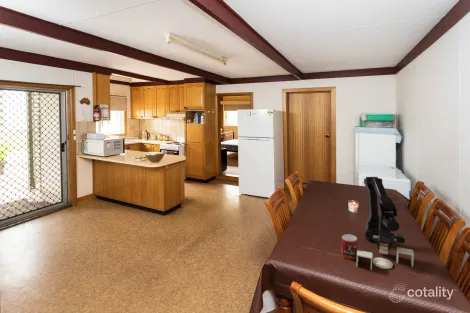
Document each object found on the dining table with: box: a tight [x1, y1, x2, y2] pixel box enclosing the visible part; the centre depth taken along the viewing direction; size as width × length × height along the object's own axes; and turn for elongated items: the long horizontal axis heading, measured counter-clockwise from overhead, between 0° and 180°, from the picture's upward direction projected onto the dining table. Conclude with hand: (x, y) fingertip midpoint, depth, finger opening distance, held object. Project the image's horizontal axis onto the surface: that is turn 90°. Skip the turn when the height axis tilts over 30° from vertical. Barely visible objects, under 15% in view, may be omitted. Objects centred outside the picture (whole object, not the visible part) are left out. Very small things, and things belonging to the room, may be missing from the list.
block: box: [378, 242, 389, 255], centre depth 146 cm, size 4×4×4 cm
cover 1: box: [355, 249, 373, 271], centre depth 136 cm, size 6×7×6 cm
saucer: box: [372, 257, 394, 270], centre depth 137 cm, size 9×9×1 cm
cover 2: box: [395, 246, 415, 268], centre depth 138 cm, size 6×7×6 cm
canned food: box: [340, 233, 358, 260], centre depth 145 cm, size 8×8×11 cm
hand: (383, 250), depth 146 cm, fingers closed on block, 4 cm apart
